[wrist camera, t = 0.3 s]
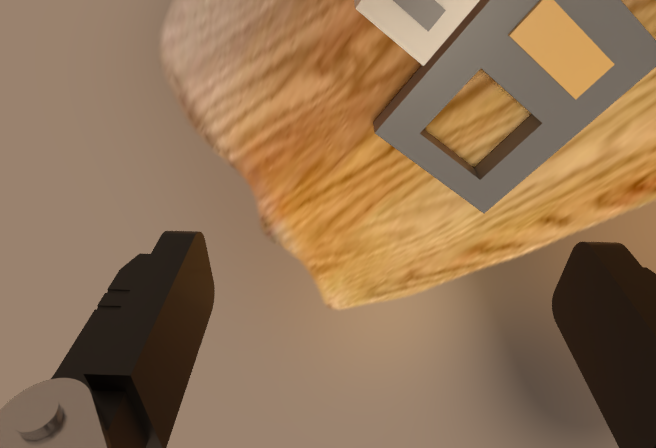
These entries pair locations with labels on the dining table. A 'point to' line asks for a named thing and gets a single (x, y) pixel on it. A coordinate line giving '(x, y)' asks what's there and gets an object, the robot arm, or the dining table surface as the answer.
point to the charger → (416, 22)
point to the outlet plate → (521, 85)
